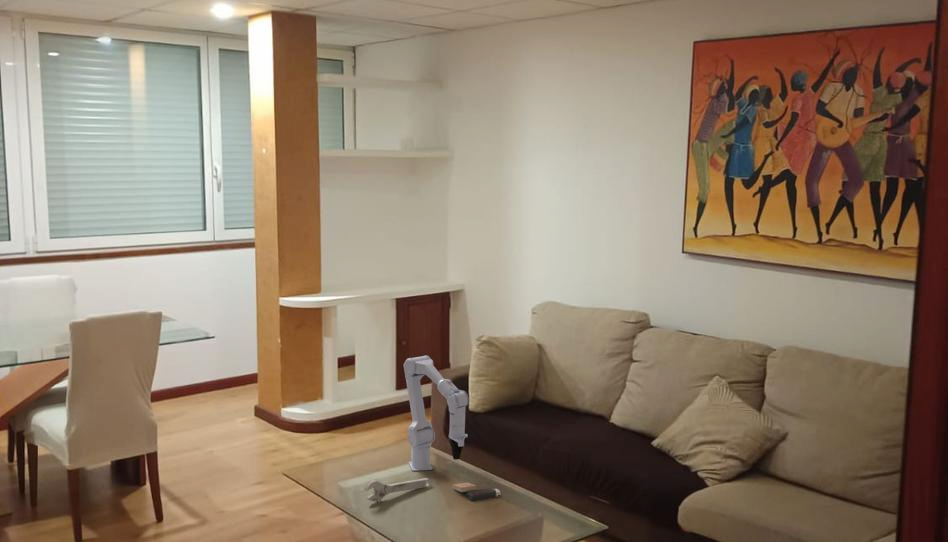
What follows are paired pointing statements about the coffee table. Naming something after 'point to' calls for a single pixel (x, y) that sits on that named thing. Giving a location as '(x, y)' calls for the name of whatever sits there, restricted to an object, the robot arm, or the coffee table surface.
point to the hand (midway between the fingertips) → (456, 458)
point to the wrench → (393, 487)
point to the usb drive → (482, 494)
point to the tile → (464, 487)
